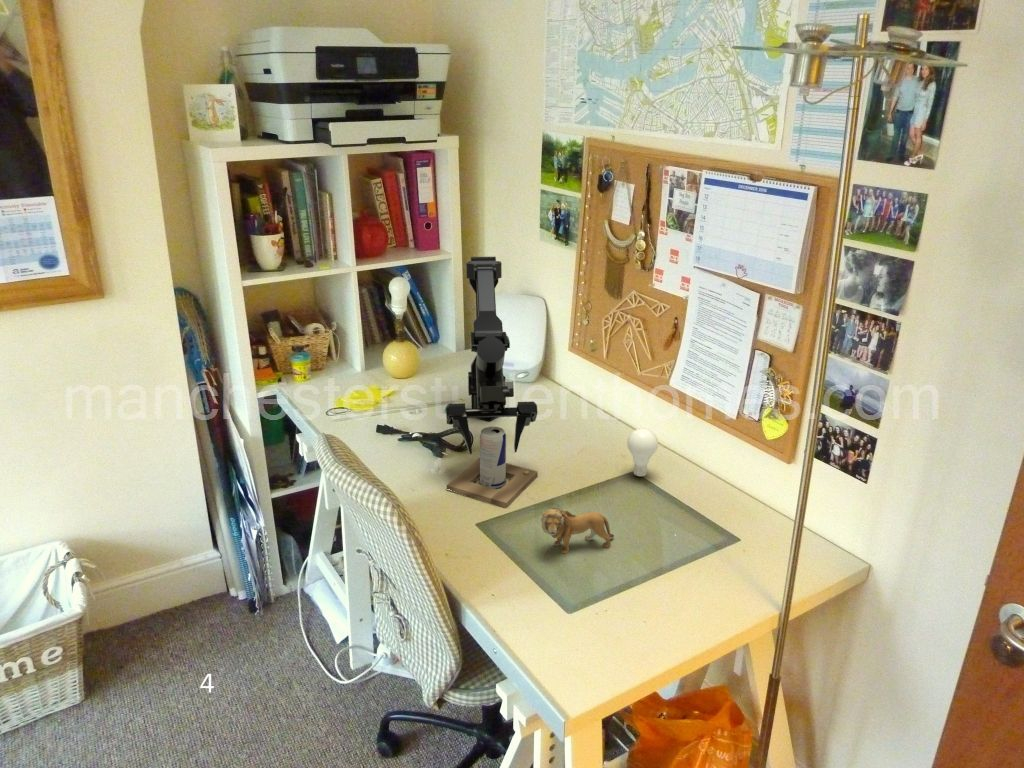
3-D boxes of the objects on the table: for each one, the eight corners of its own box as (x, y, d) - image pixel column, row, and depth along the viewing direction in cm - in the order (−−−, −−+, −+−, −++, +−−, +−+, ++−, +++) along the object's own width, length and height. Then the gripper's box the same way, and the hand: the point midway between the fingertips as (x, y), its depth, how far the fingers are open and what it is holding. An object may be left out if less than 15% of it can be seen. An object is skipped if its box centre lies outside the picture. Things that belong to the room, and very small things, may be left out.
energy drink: (510, 481, 159) (510, 430, 155) (496, 492, 155) (496, 440, 151) (489, 473, 162) (489, 423, 157) (475, 484, 158) (474, 433, 153)
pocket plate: (446, 490, 156) (446, 483, 155) (480, 460, 167) (480, 454, 167) (506, 508, 150) (506, 501, 149) (537, 476, 161) (537, 470, 161)
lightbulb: (654, 484, 159) (658, 438, 154) (623, 481, 160) (627, 435, 155) (655, 470, 164) (659, 424, 160) (625, 466, 165) (629, 421, 161)
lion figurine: (546, 563, 134) (548, 520, 130) (535, 546, 138) (536, 504, 135) (620, 545, 139) (623, 504, 135) (606, 530, 143) (609, 489, 140)
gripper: (445, 367, 152) (446, 442, 146) (537, 365, 153) (542, 439, 147) (445, 388, 162) (447, 458, 156) (532, 385, 163) (537, 455, 158)
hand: (493, 452), depth 154 cm, fingers open, 9 cm apart
